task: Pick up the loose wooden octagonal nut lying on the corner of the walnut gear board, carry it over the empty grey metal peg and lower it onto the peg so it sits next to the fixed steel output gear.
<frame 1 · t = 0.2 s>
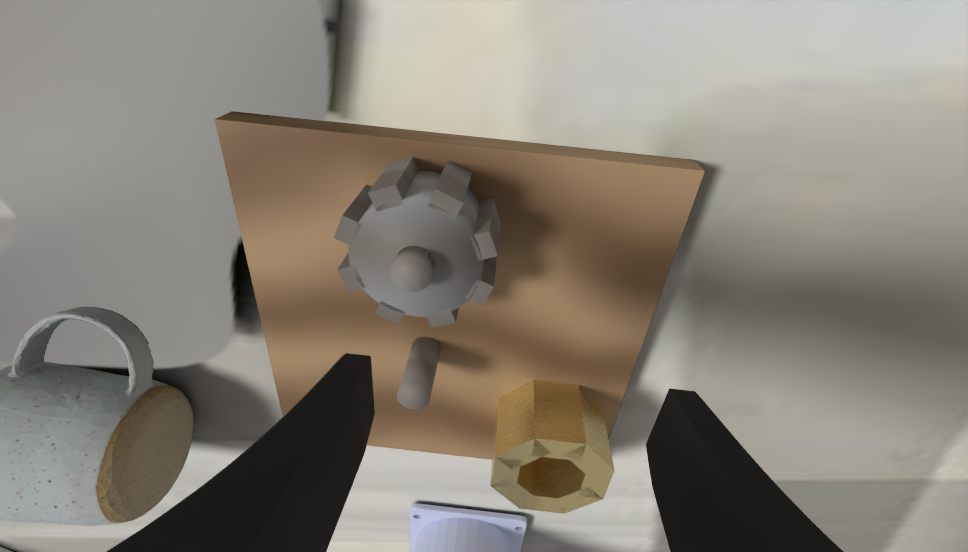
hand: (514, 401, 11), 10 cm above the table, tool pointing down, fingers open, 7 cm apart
ceramic mug: (124, 371, 27), on the table
gear board: (451, 318, 23), on the table
wooden octagonal nut: (547, 418, 24), point 1 cm above the table, touching gear board
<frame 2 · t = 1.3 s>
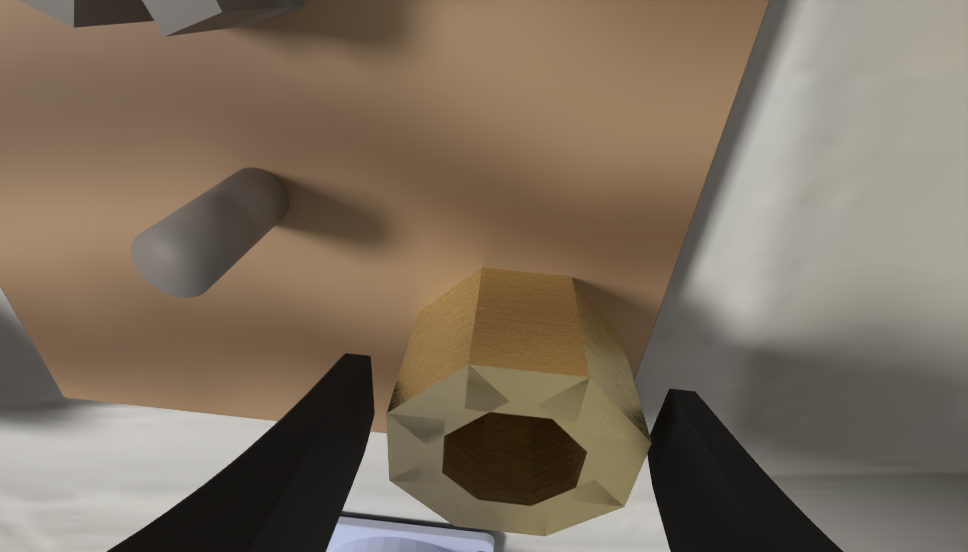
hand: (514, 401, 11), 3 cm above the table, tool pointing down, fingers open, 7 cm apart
gear board: (316, 143, 11), on the table
wooden octagonal nut: (514, 353, 13), point 1 cm above the table, touching gear board
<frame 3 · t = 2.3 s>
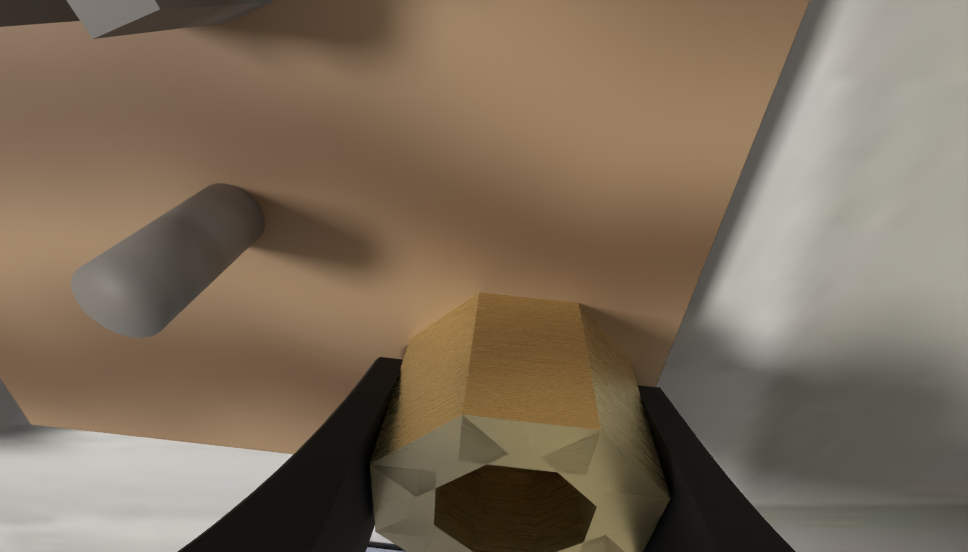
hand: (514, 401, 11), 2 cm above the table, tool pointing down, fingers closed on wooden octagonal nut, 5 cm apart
gear board: (295, 155, 10), on the table
wooden octagonal nut: (514, 383, 12), point 1 cm above the table, touching gear board, gripper
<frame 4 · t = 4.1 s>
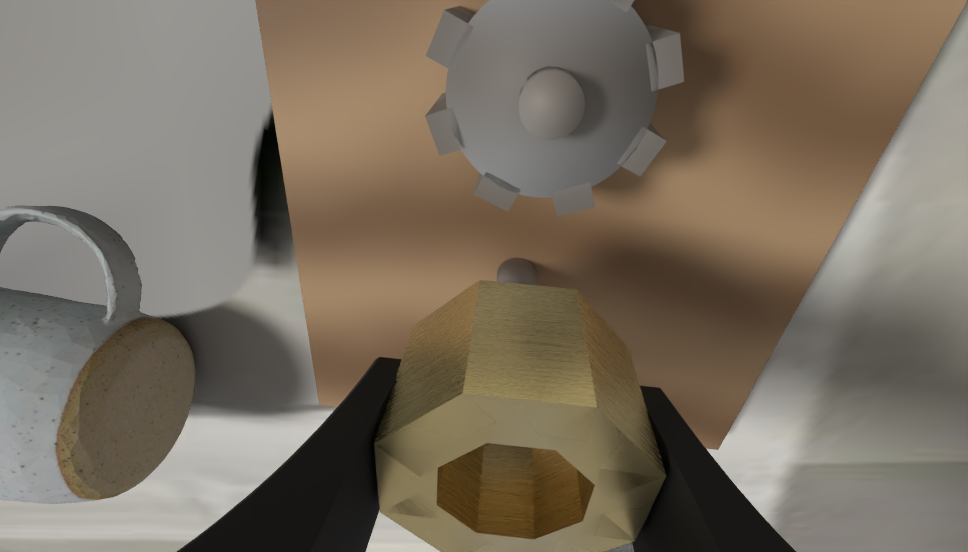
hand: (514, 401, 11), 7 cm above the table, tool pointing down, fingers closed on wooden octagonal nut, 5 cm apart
ceramic mug: (105, 306, 21), on the table
gear board: (547, 237, 17), on the table
wooden octagonal nut: (515, 370, 12), point 6 cm above the table, touching gripper
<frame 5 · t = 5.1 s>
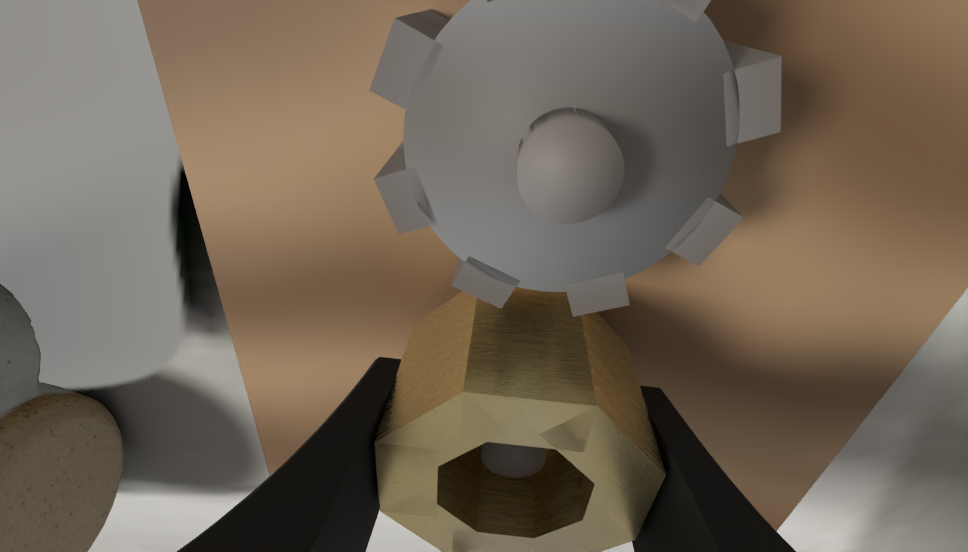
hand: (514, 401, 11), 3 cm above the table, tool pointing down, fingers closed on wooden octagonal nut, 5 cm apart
ceramic mug: (10, 371, 17), on the table
gear board: (554, 305, 13), on the table
wooden octagonal nut: (515, 369, 12), point 2 cm above the table, touching gripper
when the fingers open (3 cm above the table, at t = 5.8 s): wooden octagonal nut stays where it is, resting on gear board.
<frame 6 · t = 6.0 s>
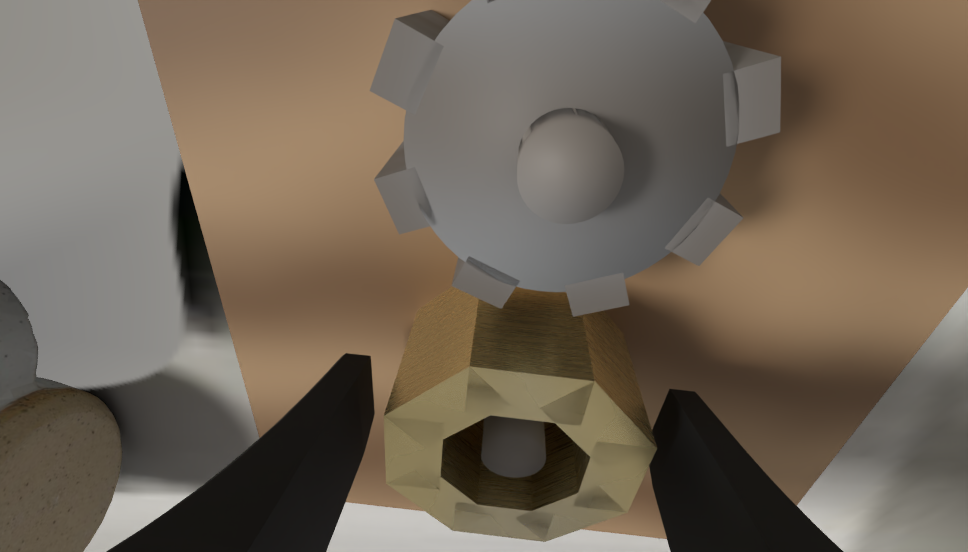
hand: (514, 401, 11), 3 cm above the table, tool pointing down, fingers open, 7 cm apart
ceramic mug: (8, 366, 17), on the table
gear board: (554, 305, 13), on the table
wooden octagonal nut: (514, 354, 13), point 1 cm above the table, touching gear board
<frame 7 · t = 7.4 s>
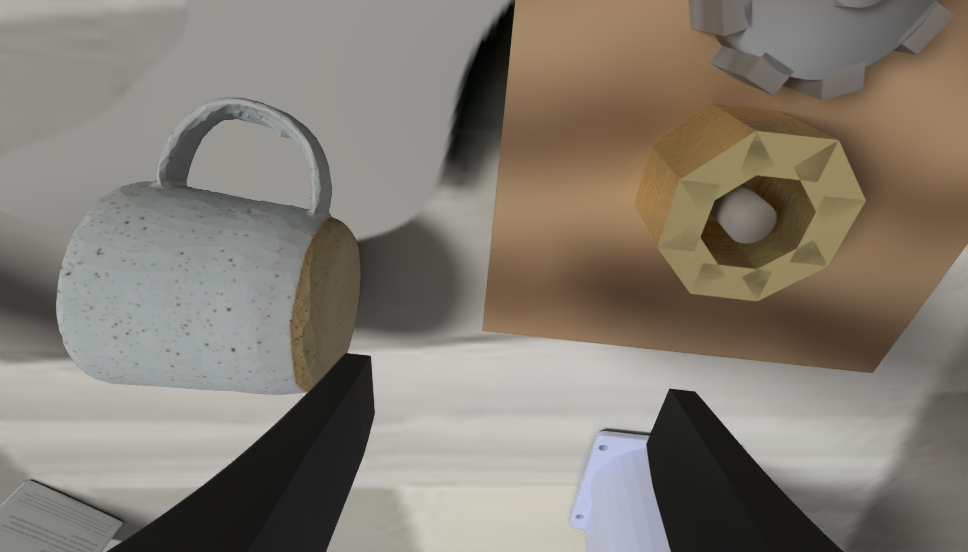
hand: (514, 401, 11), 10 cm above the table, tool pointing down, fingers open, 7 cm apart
supplement box: (66, 514, 36), on the table
ceramic mug: (274, 219, 21), on the table
gear board: (739, 151, 17), on the table
wooden octagonal nut: (715, 183, 17), point 1 cm above the table, touching gear board
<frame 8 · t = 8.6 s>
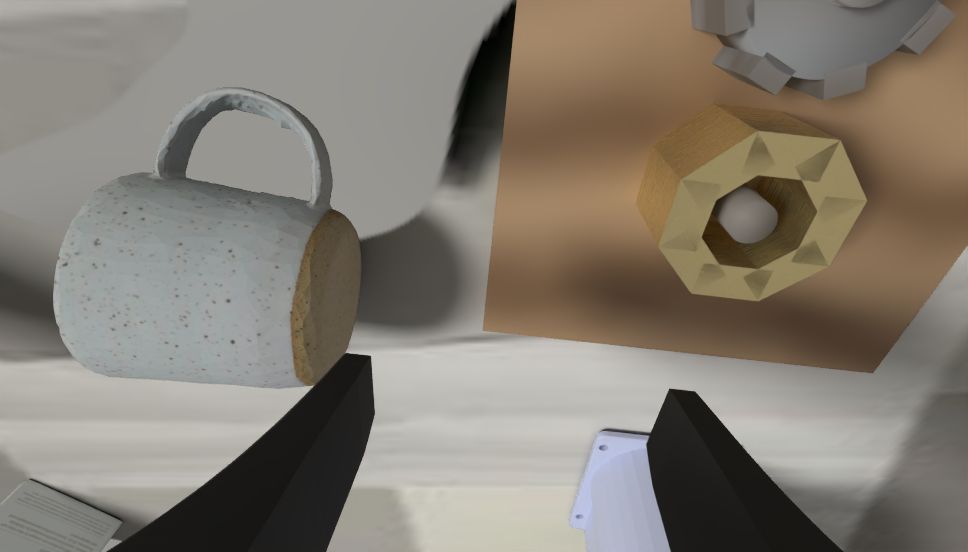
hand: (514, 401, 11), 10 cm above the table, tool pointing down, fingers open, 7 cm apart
supplement box: (65, 514, 36), on the table
ceramic mug: (273, 212, 20), on the table
gear board: (740, 151, 17), on the table
wooden octagonal nut: (716, 183, 17), point 1 cm above the table, touching gear board
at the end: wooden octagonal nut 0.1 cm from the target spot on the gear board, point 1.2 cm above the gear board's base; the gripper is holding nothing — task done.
